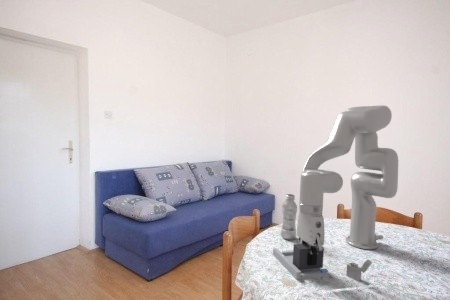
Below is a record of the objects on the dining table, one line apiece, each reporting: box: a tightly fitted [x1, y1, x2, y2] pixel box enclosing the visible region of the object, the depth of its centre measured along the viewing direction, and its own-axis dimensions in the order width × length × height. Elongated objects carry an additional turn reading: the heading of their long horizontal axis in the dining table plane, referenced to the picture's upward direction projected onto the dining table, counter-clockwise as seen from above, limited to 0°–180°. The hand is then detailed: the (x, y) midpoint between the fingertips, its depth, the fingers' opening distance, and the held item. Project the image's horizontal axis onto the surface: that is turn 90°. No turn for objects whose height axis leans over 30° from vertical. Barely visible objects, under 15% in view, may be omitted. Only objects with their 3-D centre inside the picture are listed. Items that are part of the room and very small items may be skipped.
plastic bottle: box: [280, 193, 298, 241], centre depth 118 cm, size 6×7×20 cm
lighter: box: [346, 259, 373, 282], centre depth 85 cm, size 7×2×8 cm, turn 39°
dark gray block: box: [292, 242, 325, 270], centre depth 90 cm, size 9×4×7 cm, turn 104°
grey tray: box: [272, 247, 330, 281], centre depth 94 cm, size 12×18×3 cm, turn 14°
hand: (307, 261), depth 91 cm, fingers closed on dark gray block, 4 cm apart
